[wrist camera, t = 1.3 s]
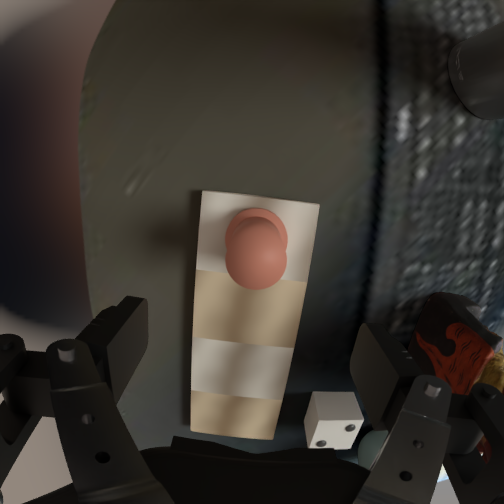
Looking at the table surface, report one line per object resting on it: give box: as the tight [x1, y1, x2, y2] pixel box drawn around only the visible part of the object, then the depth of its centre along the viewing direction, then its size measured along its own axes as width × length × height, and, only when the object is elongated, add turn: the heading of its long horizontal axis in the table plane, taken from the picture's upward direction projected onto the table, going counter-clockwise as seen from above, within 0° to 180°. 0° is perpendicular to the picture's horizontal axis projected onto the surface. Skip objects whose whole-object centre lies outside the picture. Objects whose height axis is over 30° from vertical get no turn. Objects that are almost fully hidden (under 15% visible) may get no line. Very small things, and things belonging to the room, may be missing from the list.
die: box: [304, 391, 364, 450], centre depth 32 cm, size 5×5×5 cm
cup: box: [357, 430, 388, 469], centre depth 31 cm, size 8×8×10 cm
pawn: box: [225, 208, 288, 290], centre depth 24 cm, size 5×5×7 cm
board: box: [191, 190, 320, 440], centre depth 31 cm, size 10×28×1 cm, turn 173°
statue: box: [407, 292, 504, 464], centre depth 21 cm, size 12×8×20 cm, turn 169°
